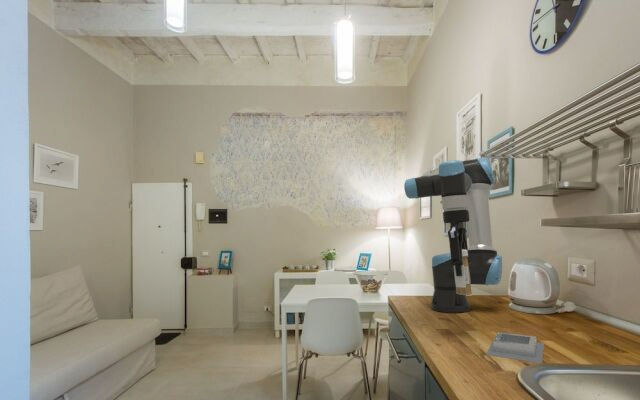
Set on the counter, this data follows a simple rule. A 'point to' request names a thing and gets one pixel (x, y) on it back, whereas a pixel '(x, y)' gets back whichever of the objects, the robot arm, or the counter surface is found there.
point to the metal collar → (515, 344)
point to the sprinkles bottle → (467, 276)
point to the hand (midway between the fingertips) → (463, 285)
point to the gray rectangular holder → (535, 359)
